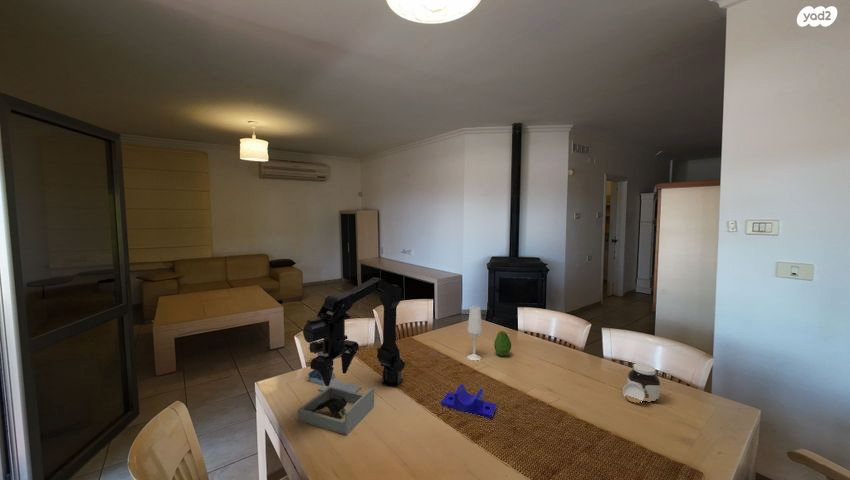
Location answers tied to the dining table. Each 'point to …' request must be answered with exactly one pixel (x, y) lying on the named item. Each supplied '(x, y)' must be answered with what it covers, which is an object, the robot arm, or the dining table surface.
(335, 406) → the power plug
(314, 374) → the blue gray open box
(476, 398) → the mounting bracket
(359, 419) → the case
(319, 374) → the dark gray cup
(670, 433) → the dining table surface
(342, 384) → the mat
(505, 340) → the avocado
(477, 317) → the champagne flute
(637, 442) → the dining table surface
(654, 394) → the spread jar
